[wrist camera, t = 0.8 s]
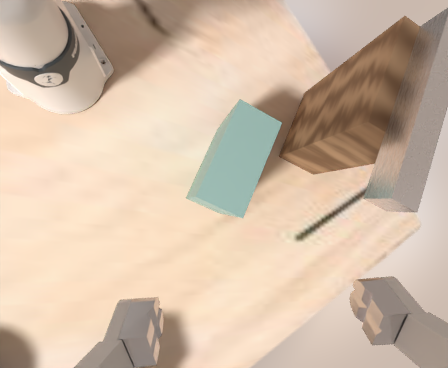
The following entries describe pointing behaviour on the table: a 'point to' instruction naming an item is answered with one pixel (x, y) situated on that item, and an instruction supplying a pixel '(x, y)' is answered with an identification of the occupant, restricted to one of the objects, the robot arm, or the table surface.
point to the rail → (413, 123)
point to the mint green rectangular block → (235, 160)
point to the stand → (351, 105)
